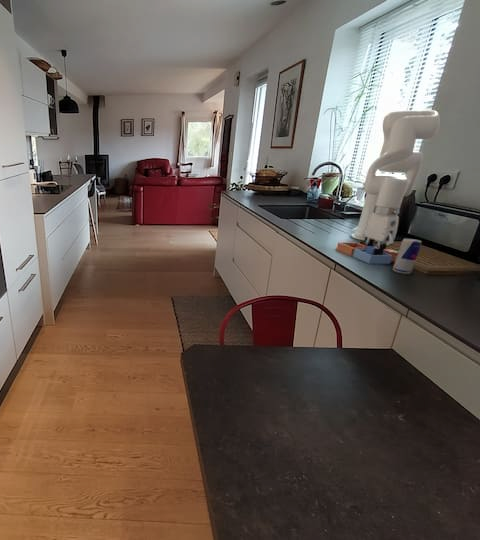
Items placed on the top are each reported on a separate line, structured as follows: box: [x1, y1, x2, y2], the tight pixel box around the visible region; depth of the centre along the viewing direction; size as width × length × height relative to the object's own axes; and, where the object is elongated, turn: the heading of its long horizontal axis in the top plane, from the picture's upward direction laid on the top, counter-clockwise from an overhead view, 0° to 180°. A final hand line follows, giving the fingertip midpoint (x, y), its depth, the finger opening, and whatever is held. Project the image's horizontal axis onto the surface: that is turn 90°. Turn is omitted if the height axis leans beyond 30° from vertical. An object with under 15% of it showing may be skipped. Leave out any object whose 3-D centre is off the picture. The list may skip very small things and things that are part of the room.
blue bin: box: [352, 249, 393, 265], centre depth 131 cm, size 9×9×3 cm
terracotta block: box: [383, 248, 399, 263], centre depth 132 cm, size 4×4×4 cm
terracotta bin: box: [336, 241, 366, 257], centre depth 141 cm, size 9×9×3 cm
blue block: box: [365, 245, 377, 255], centre depth 131 cm, size 4×4×4 cm
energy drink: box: [392, 237, 423, 275], centre depth 117 cm, size 5×5×12 cm
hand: (372, 255), depth 131 cm, fingers closed on blue block, 4 cm apart
